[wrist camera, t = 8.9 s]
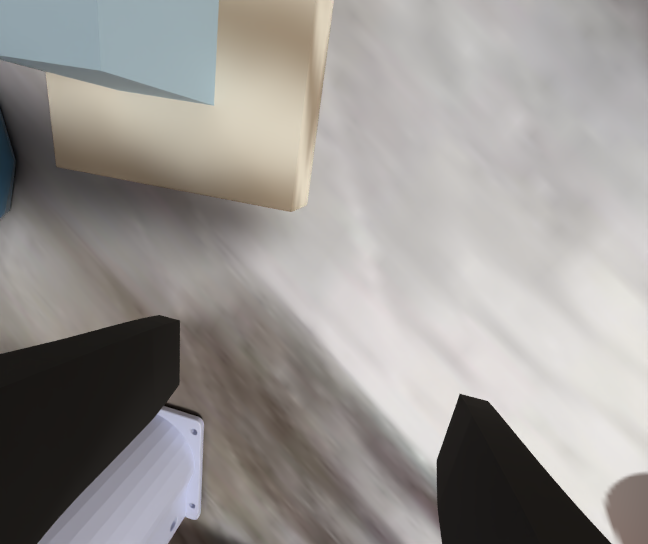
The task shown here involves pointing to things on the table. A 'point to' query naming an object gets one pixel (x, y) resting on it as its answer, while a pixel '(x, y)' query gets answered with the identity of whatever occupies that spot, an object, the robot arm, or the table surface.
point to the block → (118, 43)
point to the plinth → (213, 113)
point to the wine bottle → (5, 169)
